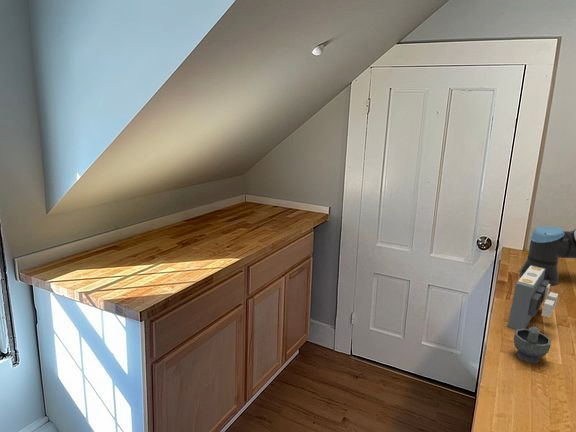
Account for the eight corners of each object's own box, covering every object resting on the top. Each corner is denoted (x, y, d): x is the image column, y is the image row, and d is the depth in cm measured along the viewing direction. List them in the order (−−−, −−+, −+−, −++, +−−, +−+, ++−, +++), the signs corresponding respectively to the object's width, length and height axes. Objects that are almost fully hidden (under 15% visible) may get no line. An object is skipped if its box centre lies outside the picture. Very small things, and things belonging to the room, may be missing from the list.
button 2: (540, 293, 160) (543, 282, 159) (547, 295, 159) (550, 284, 158) (538, 297, 157) (540, 285, 156) (545, 299, 156) (548, 287, 155)
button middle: (547, 303, 152) (550, 291, 151) (555, 305, 151) (558, 293, 150) (545, 307, 149) (548, 295, 148) (553, 309, 147) (556, 297, 146)
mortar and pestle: (512, 345, 137) (519, 310, 134) (546, 355, 132) (555, 319, 129) (508, 361, 127) (516, 324, 124) (545, 373, 123) (554, 335, 120)
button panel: (522, 304, 167) (530, 263, 162) (543, 310, 162) (552, 268, 158) (507, 326, 148) (516, 281, 144) (530, 334, 144) (540, 288, 140)
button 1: (543, 311, 146) (546, 299, 145) (551, 313, 145) (554, 301, 144) (541, 315, 143) (544, 303, 142) (549, 317, 141) (552, 305, 140)
